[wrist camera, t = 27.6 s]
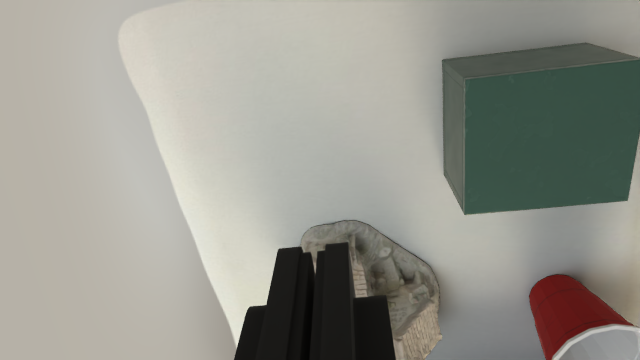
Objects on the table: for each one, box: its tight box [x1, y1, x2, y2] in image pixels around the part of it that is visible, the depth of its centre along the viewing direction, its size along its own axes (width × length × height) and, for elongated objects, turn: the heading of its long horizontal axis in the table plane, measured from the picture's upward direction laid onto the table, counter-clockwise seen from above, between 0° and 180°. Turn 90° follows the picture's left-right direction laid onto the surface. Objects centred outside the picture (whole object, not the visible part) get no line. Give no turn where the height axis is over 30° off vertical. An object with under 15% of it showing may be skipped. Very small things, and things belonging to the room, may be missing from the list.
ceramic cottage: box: [300, 221, 442, 360], centre depth 45 cm, size 16×16×15 cm
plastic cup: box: [529, 275, 640, 360], centre depth 46 cm, size 11×11×12 cm
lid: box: [463, 58, 640, 215], centre depth 35 cm, size 13×12×1 cm
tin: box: [442, 43, 638, 211], centre depth 39 cm, size 13×12×8 cm
